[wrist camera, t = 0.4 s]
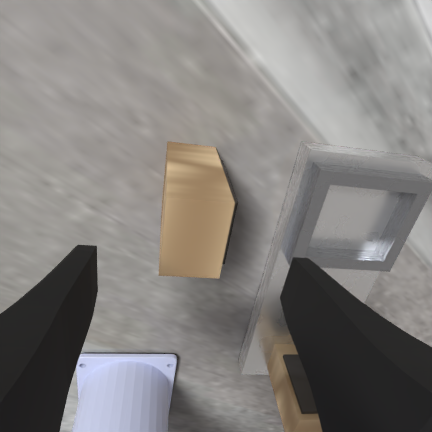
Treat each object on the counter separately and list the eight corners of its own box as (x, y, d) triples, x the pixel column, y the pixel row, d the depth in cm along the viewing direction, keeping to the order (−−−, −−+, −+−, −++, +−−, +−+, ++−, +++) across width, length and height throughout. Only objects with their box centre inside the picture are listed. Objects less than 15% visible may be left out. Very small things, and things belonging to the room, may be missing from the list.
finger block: (161, 203, 21) (158, 275, 15) (167, 141, 19) (166, 197, 13) (210, 207, 22) (225, 278, 16) (220, 147, 20) (242, 203, 14)
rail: (321, 359, 31) (333, 386, 29) (238, 359, 30) (244, 388, 28) (418, 155, 22) (447, 172, 19) (301, 141, 20) (318, 157, 18)
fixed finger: (310, 366, 29) (341, 441, 24) (266, 366, 28) (288, 443, 23) (322, 342, 28) (356, 416, 23) (275, 341, 27) (300, 417, 22)
